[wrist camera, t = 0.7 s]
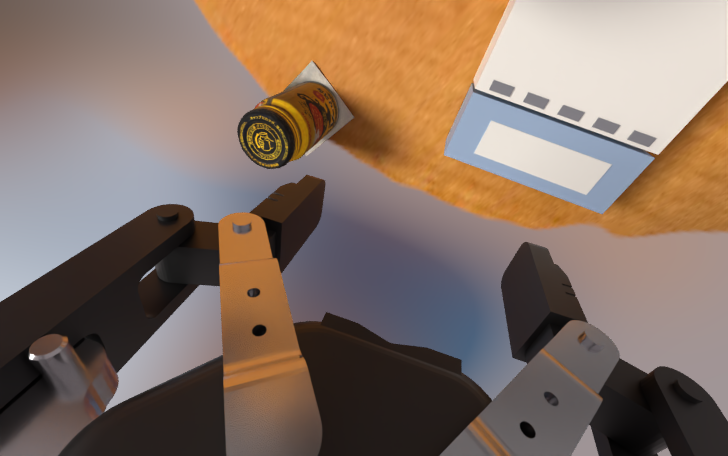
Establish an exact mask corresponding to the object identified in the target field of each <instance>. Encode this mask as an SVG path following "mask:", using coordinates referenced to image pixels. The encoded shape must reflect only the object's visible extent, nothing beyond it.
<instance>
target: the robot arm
mask: <svg viewBox="0 0 728 456" xmlns="http://www.w3.org/2000/svg"><path fill="white" fill-rule="evenodd" d="M324 191H325V181H324V180H322V179H319V178H316V177H313V176H309V175H306V176H305V177H304V178H303V179H302V180H300V181H299V182H298V183H297V184H295V183H289V184H286V185H283V186H280V187H279V188H278V189H277V190H276V191H275V192H274V193H272V194H271V195H270V196H269V197H268V198H266V199H265V200H264V201H263V202H261V203H260V204H259V205H258V206H257V207H256V208H254V209H253V210H252V211H251V212H250V213H234V214H230V215H228V216H226V217H224V218H223V219H222V220H220V222H219V223H212V222H202V221H195V220H194V214H193V211H192V210H191V209H190V208H188V207H186V206H183V205H177V204H167V205H160V206H157V207H154V208H151V209H150V210H147V211H146V212H144V213H143V214H141V215H139V216H138V217H136V218H134V219H133V220H131V221H130V222H128V223H126V224H125V225H123V226H122V227H120V228H118V229H117V230H115V231H114V232H112V233H111V234H109V235H107V236H106V237H104V238H102V239H101V240H99V241H98V242H96V243H94V244H93V245H91V246H90V247H88V248H86V249H85V250H83V251H82V252H80V253H78V254H77V255H75V256H74V257H72V258H70V259H69V260H67V261H65V262H64V263H62V264H61V265H59V266H58V267H56V268H54V269H53V270H51V271H49V272H48V273H46V274H45V275H43V276H41V277H40V278H38V279H37V280H35V281H33V282H32V283H30V284H29V285H27V286H25V287H24V288H22V289H21V290H19V291H17V292H16V293H14V294H13V295H11V296H9V297H8V298H6V299H4V300H3V301H1V302H0V456H571V455H572V453H573V451H574V449H575V448H576V446H577V444H578V443H579V441H580V439H581V437H582V436H583V434H584V432H585V430H586V429H587V427H588V425H590V426H591V429H592V432H593V436H594V440H595V443H596V447H597V450H598V454H599V456H658V455H657V453H658V452H660V451H662V450H664V449H666V448H668V449H669V451H670V453H671V455H672V456H728V421H727V420H726V418H725V417H724V415H723V414H722V412H721V410H720V409H719V407H718V406H717V404H716V403H715V401H714V400H713V399H712V397H711V396H710V395H709V394H708V393H707V392H706V391H705V390H704V389H703V388H702V387H701V386H699V385H698V384H697V383H696V382H695V381H693V380H692V379H691V378H689V377H688V376H686V375H684V374H683V373H681V372H679V371H677V370H674V369H672V368H668V367H661V366H660V367H657V368H656V369H654V370H653V371H652V372H650V373H649V374H647V373H645V372H643V371H641V370H640V369H638V368H636V367H634V366H633V365H631V364H629V363H627V362H625V361H624V360H622V359H620V357H619V351H618V349H617V347H616V345H615V344H614V343H613V341H612V340H611V339H610V338H609V337H608V336H607V335H606V334H605V333H603V332H602V331H601V330H599V329H598V328H596V327H594V326H593V325H591V324H589V323H588V322H587V320H586V317H585V315H584V313H583V311H582V308H581V306H580V304H579V301H578V299H577V297H575V292H574V290H573V289H572V288H571V287H572V286H571V283H570V281H569V279H568V277H567V275H566V274H565V273H564V272H563V271H562V270H561V268H560V267H559V266H558V265H556V264H554V263H553V260H552V258H551V256H550V253H549V251H548V249H547V248H545V247H542V246H538V245H535V244H532V243H528V242H524V243H523V244H522V245H521V247H520V248H519V250H518V251H517V253H516V254H515V256H514V258H513V260H512V261H511V262H510V264H509V266H508V267H507V269H506V270H505V272H504V275H503V277H502V281H501V289H502V295H503V301H504V308H505V314H506V320H507V326H508V332H509V339H510V345H511V350H512V357H513V358H515V359H518V360H521V361H524V362H526V363H527V365H526V366H525V367H524V368H523V370H521V372H520V373H519V374H518V375H517V376H516V377H515V378H514V379H513V380H512V381H511V382H510V383H509V384H508V385H507V386H506V387H505V388H504V389H503V390H502V391H501V392H500V393H499V395H498V396H497V397H496V398H495V399H494V400H493V401H492V400H491V398H490V397H489V396H488V395H487V394H486V393H485V392H484V391H483V390H482V388H481V387H479V386H478V385H477V384H476V383H475V382H474V381H473V380H471V379H470V378H469V377H467V376H466V375H464V374H463V373H462V372H461V360H460V359H457V358H454V357H452V356H449V355H446V354H443V353H440V352H437V351H435V350H432V349H429V348H424V347H416V346H408V345H400V344H393V343H389V342H387V341H386V340H384V339H382V338H381V337H379V336H378V335H376V334H374V333H373V332H371V331H370V330H368V329H366V328H365V327H363V326H361V325H360V324H358V323H355V322H353V321H350V320H347V319H344V318H341V317H338V316H336V315H333V314H330V313H327V312H326V314H325V316H324V318H323V320H322V322H318V321H306V322H298V323H293V320H292V316H291V312H290V308H289V304H288V301H287V296H286V292H285V288H284V284H283V280H282V276H281V273H282V272H283V271H284V269H285V268H286V267H287V265H288V264H289V262H290V261H291V260H292V259H293V257H294V256H295V255H296V253H297V252H298V251H299V249H300V248H301V247H302V245H303V244H304V243H305V241H306V240H307V239H308V237H309V236H310V235H311V233H312V232H313V231H314V229H315V228H316V227H317V225H318V223H319V221H320V217H321V213H322V206H323V199H324ZM154 266H155V269H154V270H153V271H152V272H151V273H150V274H148V275H147V276H146V277H145V278H144V279H142V280H141V278H142V277H143V276H144V275H145V274H146V273H147V272H148V271H149V270H151V269H152V268H153V267H154ZM140 280H141V281H140ZM199 285H211V286H220V298H221V321H222V344H223V355H221V356H219V357H217V358H215V359H213V360H211V361H209V362H206V363H204V364H202V365H200V366H198V367H196V368H194V369H192V370H189V371H187V372H185V373H183V374H181V375H179V376H177V377H175V378H172V379H170V380H168V381H166V382H164V383H162V384H160V385H158V386H155V387H153V388H151V389H149V390H147V391H145V392H143V393H140V394H138V395H136V396H134V397H132V398H130V399H128V400H126V401H124V402H122V403H120V404H118V405H116V406H114V407H112V408H110V409H109V410H107V411H106V412H104V411H105V409H106V406H107V405H108V403H109V402H110V400H111V399H112V398H113V396H114V394H115V392H116V390H117V387H118V382H119V380H118V375H117V372H118V371H119V370H120V369H121V368H122V367H123V366H124V365H125V364H126V363H127V362H128V361H129V360H130V358H132V356H133V355H134V354H135V353H136V352H137V351H138V350H139V349H140V348H141V347H142V346H143V345H144V343H146V341H147V340H148V339H149V338H150V337H151V336H152V335H153V334H154V333H155V332H156V331H157V330H158V329H159V328H160V326H161V325H162V324H163V323H164V322H165V321H166V320H167V319H168V318H169V317H170V315H172V314H173V312H174V311H175V310H176V309H177V308H178V307H179V306H180V305H181V304H182V303H183V302H184V301H185V300H186V299H187V298H188V297H189V295H190V294H191V293H192V292H193V291H194V290H195V289H196V288H197V287H198V286H199Z"/></svg>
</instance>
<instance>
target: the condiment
mask: <svg viewBox="0 0 728 456" xmlns="http://www.w3.org/2000/svg"><path fill="white" fill-rule="evenodd" d="M353 118H354V116H353V115H352V113H351V112H350V111H349V109H348V108H347V107H346V105H345V104H344V102H343V101H342V100H341V98H340V97H339V95H338V94H337V93H336V91H335V90H334V89H333V87H332V86H331V85H330V84H329V82H328V81H327V79H326V78H325V77H324V76H323V74H322V73H321V72H320V71H319V69H318V68H317V67H316V65H315V64H314V62H313V61H311V62H310V63H309V65H308V66H307V67H306V68H305V69H304V70H303V71H302V72H301V73H300V74H299V75H298V76H297V77H296V78H295V79H294V81H292V83H291V84H290V85H289V86H288V87H287V88H286V89H285V90H284V91H283V92H281V93H279V94H276V95H274V96H272V97H269V98H266V99H264V100H263V101H261V102H260V103H259V104H257V106H256V107H255V108H254V109H253V110H251V111H250V112H248V113H246V114H245V115H244V116H243V118H242V119H241V121H240V122H239V125H238V131H237V132H238V137H239V142H240V144H241V147H242V149H243V151H244V152H245V153H246V155H247V156H248V157H249V158H250V159H251V160H252V161H253V162H254V163H256V164H257V165H259V166H262V167H264V168H267V169H274V168H280V167H282V166H284V165H286V164H287V163H288V162H290V161H293V160H297V159H299V158H301V156H303V155H304V154H305V155H306V156H308V155H309V154H310V153H311V152H313V151H314V150H315V149H316V148H318V147H319V146H320V145H321V144H322V143H324V142H325V141H326V140H327V139H329V138H330V137H331V136H332V135H333V134H335V133H336V132H337V131H338V130H339V129H341V128H342V127H343V126H344V125H346V124H347V123H348V122H349V121H350V120H352V119H353Z"/></svg>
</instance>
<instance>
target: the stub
mask: <svg viewBox="0 0 728 456" xmlns="http://www.w3.org/2000/svg"><path fill="white" fill-rule="evenodd" d="M444 155H446V156H448V157H451V158H454V159H456V160H459V161H462V162H464V163H467V164H470V165H472V166H475V167H478V168H480V169H483V170H486V171H488V172H491V173H494V174H496V175H499V176H502V177H504V178H507V179H510V180H512V181H515V182H518V183H520V184H523V185H526V186H528V187H531V188H534V189H536V190H539V191H542V192H544V193H547V194H550V195H552V196H555V197H558V198H560V199H563V200H566V201H568V202H571V203H574V204H576V205H579V206H582V207H584V208H587V209H590V210H592V211H595V212H598V213H600V214H603V213H604V212H605V211H606V210H607V209H608V208H609V207H610V206H611V205H612V203H613V202H614V201H615V200H616V199H617V198H618V197H619V196H620V195H621V194H622V193H623V192H624V191H625V190H626V189H627V187H628V186H629V185H630V184H631V183H632V182H633V181H634V180H635V179H636V178H637V177H638V176H639V175H640V174H641V173H642V171H643V170H644V169H645V168H646V167H647V166H648V165H649V164H650V163H651V162H652V161H653V160H654V159H655V158H654V157H653V156H652V155H650V154H649V153H647V152H646V151H645V150H643V149H640V148H638V147H635V146H632V145H629V144H627V143H624V142H621V141H618V140H615V139H613V138H610V137H607V136H604V135H602V134H599V133H596V132H593V131H591V130H588V129H585V128H582V127H580V126H577V125H574V124H571V123H568V122H566V121H563V120H560V119H557V118H555V117H552V116H549V115H546V114H544V113H541V112H538V111H535V110H532V109H530V108H527V107H524V106H521V105H519V104H516V103H513V102H510V101H508V100H505V99H502V98H499V97H496V96H494V95H491V94H488V93H485V92H483V91H480V90H477V89H475V86H474V83H472V84H471V86H470V88H469V90H468V93H467V95H466V97H465V99H464V101H463V104H462V106H461V108H460V110H459V112H458V115H457V117H456V119H455V121H454V123H453V125H452V128H451V130H450V132H449V134H448V136H447V139H446V144H445V151H444Z"/></svg>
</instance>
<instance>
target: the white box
mask: <svg viewBox="0 0 728 456" xmlns="http://www.w3.org/2000/svg"><path fill="white" fill-rule="evenodd" d="M473 80H474V86H475V89H477V90H480V91H483V92H485V93H488V94H491V95H494V96H496V97H499V98H502V99H505V100H508V101H510V102H513V103H516V104H519V105H521V106H524V107H527V108H530V109H532V110H535V111H538V112H541V113H544V114H546V115H549V116H552V117H555V118H557V119H560V120H563V121H566V122H568V123H571V124H574V125H577V126H580V127H582V128H585V129H588V130H591V131H593V132H596V133H599V134H602V135H604V136H607V137H610V138H613V139H615V140H618V141H621V142H624V143H627V144H629V145H632V146H635V147H638V148H640V149H643V150H646V151H649V152H651V153H654V154H657V155H658V154H659V153H660V152H661V151H662V150H663V149H664V148H665V147H666V146H667V145H668V144H669V143H670V142H671V141H672V140H673V138H674V137H675V136H676V135H677V134H678V133H679V132H680V131H681V130H682V129H683V128H684V127H685V126H686V125H687V124H688V122H689V121H690V120H691V119H692V118H693V117H694V116H695V115H696V114H697V113H698V112H699V111H700V110H701V109H702V108H703V106H704V105H705V104H706V103H707V102H708V101H709V100H710V99H711V98H712V97H713V96H714V95H715V94H716V93H717V92H718V91H719V89H720V88H721V87H722V86H723V85H724V84H725V83H726V82H727V81H728V0H509V3H508V5H507V7H506V9H505V11H504V14H503V16H502V18H501V20H500V22H499V24H498V27H497V29H496V31H495V33H494V35H493V38H492V40H491V42H490V44H489V46H488V49H487V51H486V53H485V55H484V57H483V59H482V62H481V64H480V66H479V68H478V70H477V73H476V75H475V77H474V79H473Z"/></svg>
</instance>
